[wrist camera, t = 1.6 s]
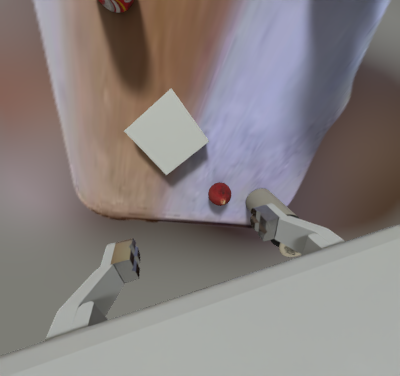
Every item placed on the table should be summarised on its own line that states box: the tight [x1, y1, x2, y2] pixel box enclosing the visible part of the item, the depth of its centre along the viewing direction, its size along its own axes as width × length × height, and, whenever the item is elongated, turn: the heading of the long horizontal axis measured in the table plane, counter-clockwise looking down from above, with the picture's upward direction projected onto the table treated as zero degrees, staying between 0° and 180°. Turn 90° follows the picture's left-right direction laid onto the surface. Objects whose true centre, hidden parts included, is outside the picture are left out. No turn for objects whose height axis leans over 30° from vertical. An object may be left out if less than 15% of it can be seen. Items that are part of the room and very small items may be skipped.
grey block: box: [125, 89, 209, 175], centre depth 35 cm, size 12×12×5 cm
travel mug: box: [246, 188, 301, 257], centre depth 41 cm, size 8×8×18 cm
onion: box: [208, 183, 231, 206], centre depth 42 cm, size 6×6×8 cm
